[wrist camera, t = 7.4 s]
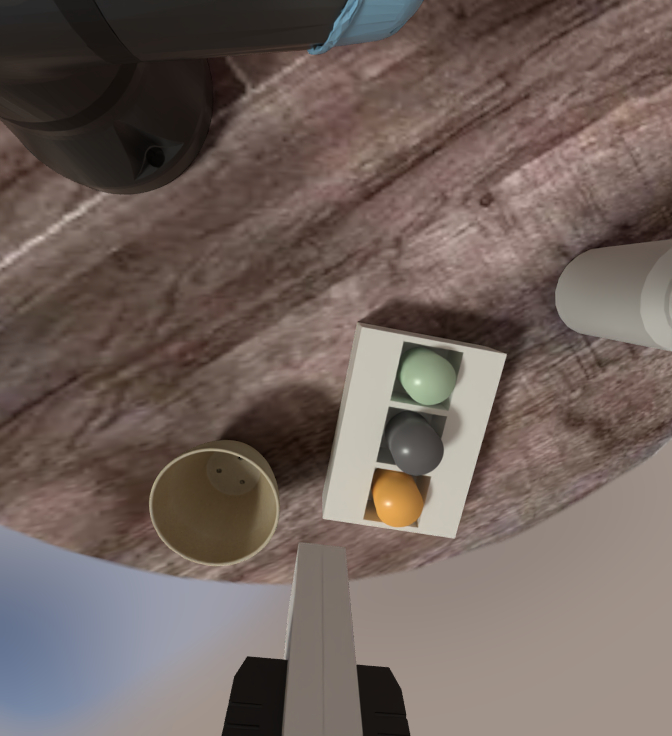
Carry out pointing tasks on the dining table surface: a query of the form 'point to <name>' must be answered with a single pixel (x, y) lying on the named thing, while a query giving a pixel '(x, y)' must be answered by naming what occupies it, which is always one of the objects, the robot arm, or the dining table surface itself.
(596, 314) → the can
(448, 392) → the green button
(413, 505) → the orange rounded piece
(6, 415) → the dining table surface
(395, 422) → the black button
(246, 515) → the flower pot
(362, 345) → the white compartment box
